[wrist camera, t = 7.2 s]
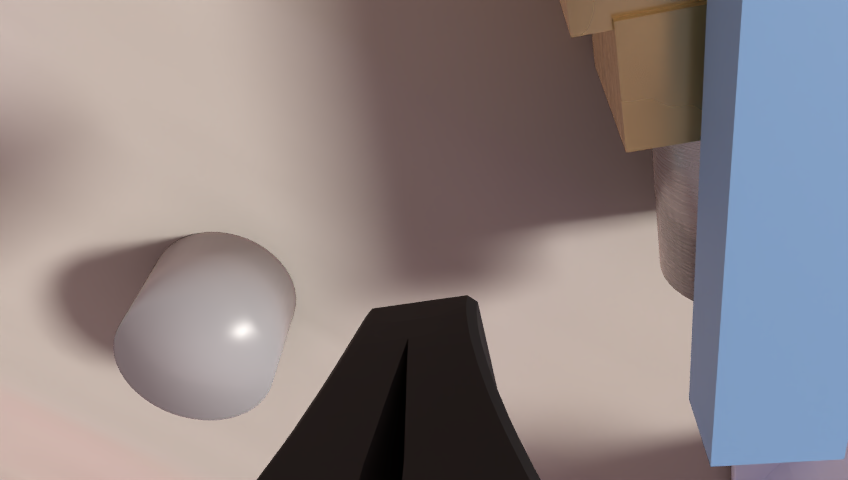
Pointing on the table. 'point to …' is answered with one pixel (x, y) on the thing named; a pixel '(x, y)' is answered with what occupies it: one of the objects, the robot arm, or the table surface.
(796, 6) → the lever
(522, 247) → the table surface
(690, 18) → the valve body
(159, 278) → the pvc end cap
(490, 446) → the robot arm
